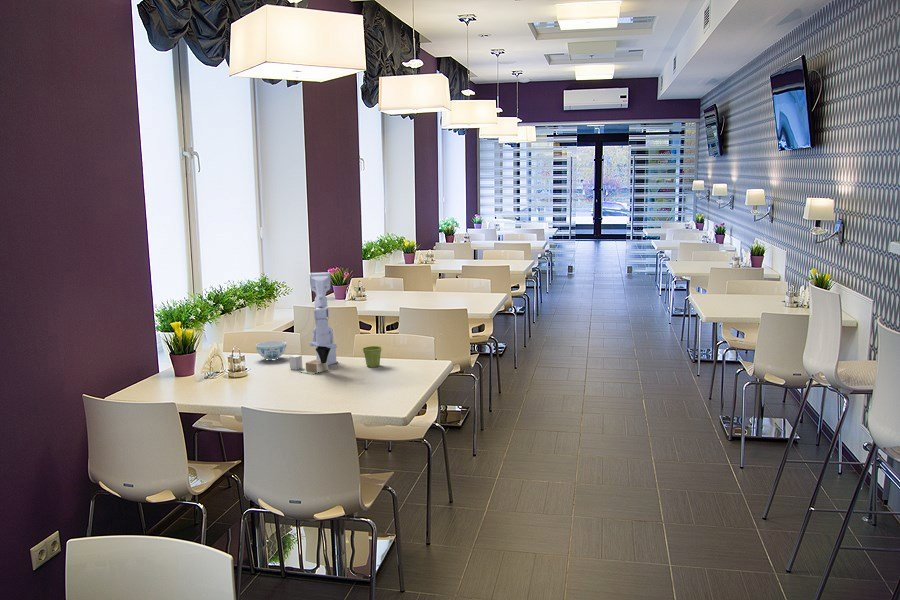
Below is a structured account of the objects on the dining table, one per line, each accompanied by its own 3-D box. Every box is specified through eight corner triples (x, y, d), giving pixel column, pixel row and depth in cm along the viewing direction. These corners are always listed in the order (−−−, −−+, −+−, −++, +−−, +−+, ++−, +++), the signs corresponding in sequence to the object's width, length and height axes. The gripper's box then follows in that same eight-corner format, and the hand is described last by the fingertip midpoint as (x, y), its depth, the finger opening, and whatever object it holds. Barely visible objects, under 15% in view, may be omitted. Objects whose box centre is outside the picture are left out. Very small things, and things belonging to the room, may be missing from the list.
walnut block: (327, 369, 364) (316, 368, 368) (327, 361, 363) (315, 359, 367) (317, 372, 358) (306, 371, 362) (317, 364, 357) (305, 362, 361)
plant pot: (364, 369, 365) (363, 350, 364) (361, 364, 374) (361, 346, 373) (384, 367, 367) (383, 349, 366) (381, 363, 376) (380, 345, 375)
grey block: (296, 367, 372) (295, 354, 372) (302, 368, 370) (301, 355, 370) (290, 369, 369) (289, 356, 368) (296, 369, 367) (295, 357, 366)
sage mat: (316, 367, 370) (316, 366, 370) (329, 369, 366) (329, 368, 366) (299, 372, 361) (299, 371, 361) (313, 374, 357) (313, 373, 357)
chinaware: (262, 356, 400) (261, 341, 399) (291, 355, 398) (290, 340, 397) (252, 362, 385) (251, 347, 384) (282, 362, 384) (281, 347, 382)
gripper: (304, 333, 358) (306, 363, 360) (328, 336, 351) (330, 366, 353) (314, 331, 364) (316, 360, 366) (339, 333, 357) (340, 363, 359)
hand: (323, 362), depth 360 cm, fingers closed
